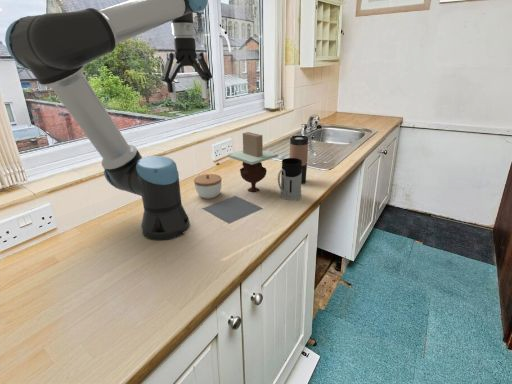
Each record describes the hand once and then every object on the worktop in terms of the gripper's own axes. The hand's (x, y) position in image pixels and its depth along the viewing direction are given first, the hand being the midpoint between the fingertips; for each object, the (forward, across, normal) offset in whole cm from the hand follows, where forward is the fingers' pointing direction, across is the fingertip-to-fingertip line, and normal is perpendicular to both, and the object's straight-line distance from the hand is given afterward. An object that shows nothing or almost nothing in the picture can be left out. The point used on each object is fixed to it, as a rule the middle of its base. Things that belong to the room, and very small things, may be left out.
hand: (190, 100), depth 119 cm
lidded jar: (+37, -1, -9) cm, 38 cm away
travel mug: (+37, +36, -24) cm, 57 cm away
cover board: (+22, +15, -18) cm, 32 cm away
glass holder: (+37, +19, -33) cm, 53 cm away
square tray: (+37, -2, -25) cm, 44 cm away
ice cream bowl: (+37, +15, -18) cm, 44 cm away
